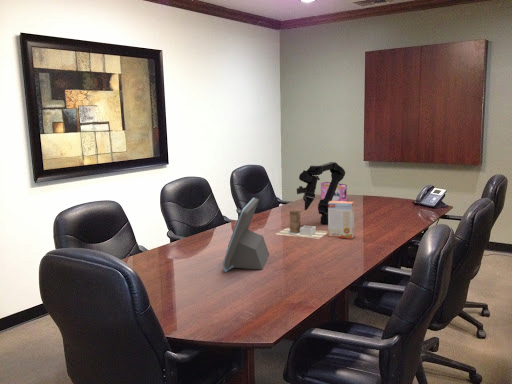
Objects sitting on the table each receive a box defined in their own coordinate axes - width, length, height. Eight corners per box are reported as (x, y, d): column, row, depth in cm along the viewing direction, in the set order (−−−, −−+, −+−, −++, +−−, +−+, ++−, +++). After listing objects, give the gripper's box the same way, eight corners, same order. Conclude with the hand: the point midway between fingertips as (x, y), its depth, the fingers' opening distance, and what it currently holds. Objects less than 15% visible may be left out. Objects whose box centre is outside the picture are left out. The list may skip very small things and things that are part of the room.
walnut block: (294, 230, 295) (294, 209, 292) (300, 231, 291) (300, 210, 289) (290, 231, 291) (289, 210, 289) (295, 233, 288) (295, 211, 286)
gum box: (348, 201, 388) (348, 184, 386) (341, 202, 384) (341, 185, 381) (327, 197, 407) (327, 181, 405) (320, 198, 403) (320, 182, 400)
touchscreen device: (234, 250, 257) (234, 195, 252) (270, 252, 254) (271, 197, 249) (219, 272, 223) (219, 209, 218) (261, 274, 220) (261, 210, 215)
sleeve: (304, 231, 291) (304, 225, 291) (315, 233, 288) (315, 226, 287) (300, 234, 285) (299, 228, 284) (311, 235, 282) (311, 229, 281)
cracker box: (354, 236, 279) (354, 201, 276) (351, 239, 274) (352, 203, 270) (330, 234, 285) (330, 200, 282) (328, 237, 280) (327, 201, 276)
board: (287, 228, 304) (287, 227, 304) (329, 232, 290) (329, 231, 290) (274, 235, 288) (274, 233, 288) (318, 239, 275) (318, 238, 275)
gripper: (298, 184, 309) (292, 207, 307) (299, 180, 290) (293, 205, 288) (315, 188, 308) (309, 211, 306) (317, 184, 289) (312, 209, 288)
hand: (305, 209), depth 297 cm, fingers open, 9 cm apart
